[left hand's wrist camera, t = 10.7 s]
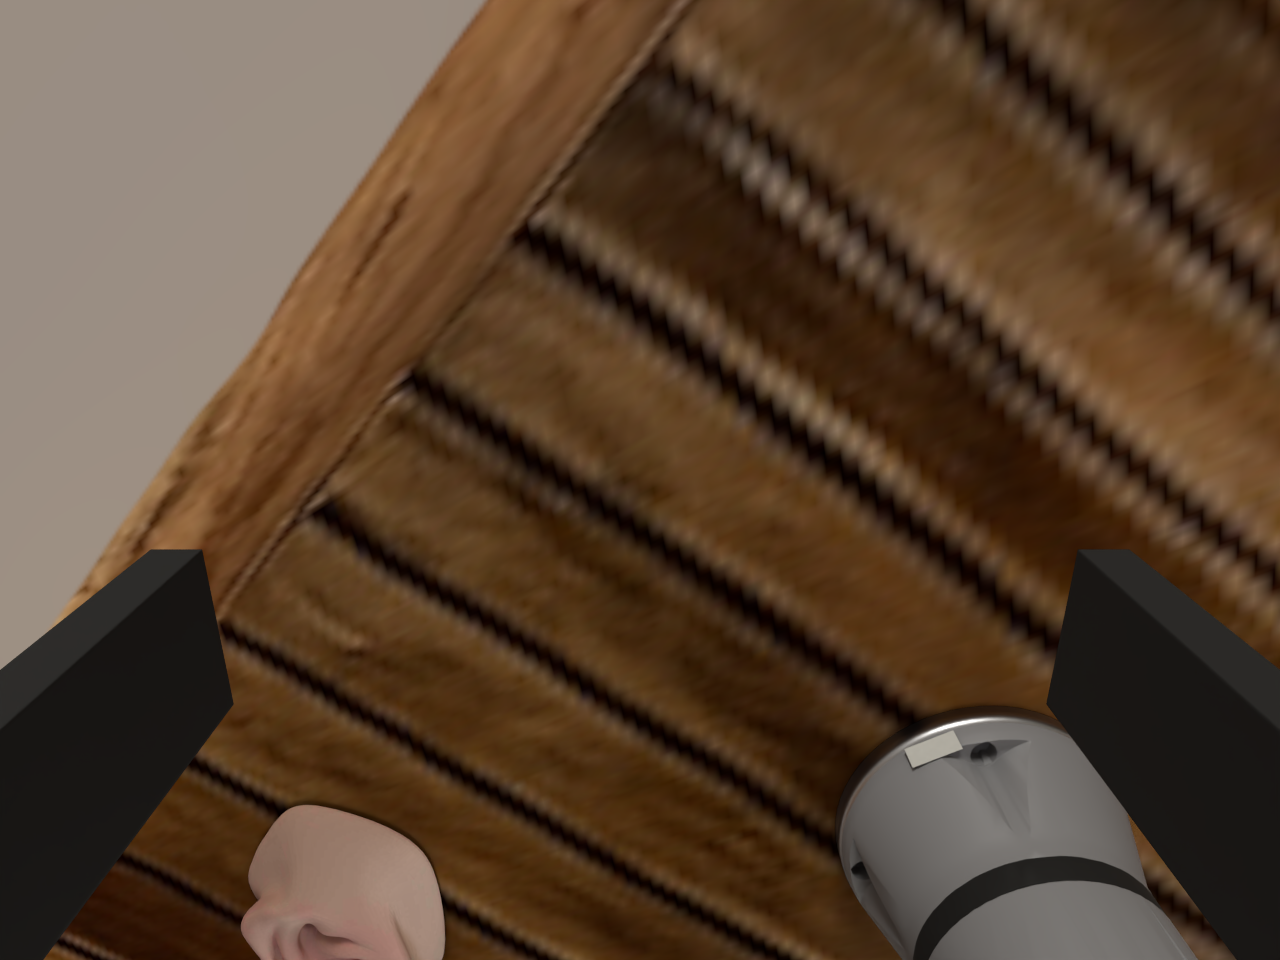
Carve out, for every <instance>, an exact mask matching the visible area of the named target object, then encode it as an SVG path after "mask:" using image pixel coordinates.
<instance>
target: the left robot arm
mask: <svg viewBox="0 0 1280 960" xmlns="http://www.w3.org/2000/svg"><path fill="white" fill-rule="evenodd" d="M232 706H233V699H232V694H231V689H230V684H229V679H228V674H227V669H226V664H225V660H224V655H223V650H222V645H221V640H220V635H219V630H218V625H217V621H216V616H215V611H214V606H213V601H212V596H211V591H210V586H209V581H208V577H207V572H206V567H205V562H204V557H203V552H202V550H150V551H148V552H147V553H146V554H145V555H143V556H142V557H141V558H140V559H138V560H137V561H136V562H135V563H133V564H132V565H131V566H130V567H128V568H127V569H126V570H125V571H123V572H122V573H121V574H120V575H118V576H117V577H116V578H115V579H113V580H112V581H111V582H110V583H108V584H107V585H106V586H105V587H103V588H102V589H101V590H100V591H98V592H97V593H96V594H95V595H93V596H92V597H91V598H90V599H88V600H87V601H86V602H85V603H83V604H82V605H81V606H80V607H78V608H77V609H76V610H75V611H73V612H72V613H71V614H70V615H68V616H67V617H66V618H65V619H63V620H62V621H61V622H60V623H58V624H57V625H56V626H55V627H53V628H52V629H51V630H50V631H48V632H47V633H46V634H45V635H43V636H42V637H41V638H40V639H38V640H37V641H36V642H35V643H33V644H32V645H31V646H30V647H28V648H27V649H26V650H25V651H23V652H22V653H21V654H20V655H18V656H17V657H16V658H15V659H13V660H12V661H11V662H10V663H8V664H7V665H6V666H5V667H3V668H2V669H1V670H0V960H43V959H44V958H45V957H46V955H47V954H48V953H49V951H50V950H51V949H52V947H53V946H54V945H55V943H56V942H57V940H58V939H59V938H60V936H61V935H62V934H63V932H64V931H65V930H66V928H67V927H68V926H69V924H70V923H71V922H72V920H73V919H74V918H75V916H76V915H77V914H78V912H79V911H80V910H81V908H82V907H83V906H84V904H85V903H86V902H87V900H88V899H89V898H90V896H91V895H92V893H93V892H94V891H95V889H96V888H97V887H98V885H99V884H100V883H101V881H102V880H103V879H104V877H105V876H106V875H107V873H108V872H109V871H110V869H111V868H112V867H113V865H114V864H115V863H116V861H117V860H118V859H119V857H120V856H121V855H122V853H123V852H124V851H125V849H126V848H127V847H128V845H129V844H130V842H131V841H132V840H133V838H134V837H135V836H136V834H137V833H138V832H139V830H140V829H141V828H142V826H143V825H144V824H145V822H146V821H147V820H148V818H149V817H150V816H151V814H152V813H153V812H154V810H155V809H156V808H157V806H158V805H159V804H160V802H161V801H162V800H163V798H164V797H165V796H166V794H167V793H168V791H169V790H170V789H171V787H172V786H173V785H174V783H175V782H176V781H177V779H178V778H179V777H180V775H181V774H182V773H183V771H184V770H185V769H186V767H187V766H188V765H189V763H190V762H191V761H192V759H193V758H194V757H195V755H196V754H197V753H198V751H199V750H200V749H201V747H202V746H203V744H204V743H205V742H206V740H207V739H208V738H209V736H210V735H211V734H212V732H213V731H214V730H215V728H216V727H217V726H218V724H219V723H220V722H221V720H222V719H223V718H224V716H225V715H226V714H227V712H228V711H229V710H230V708H231V707H232ZM1047 706H1048V707H1049V708H1050V710H1051V711H1052V712H1053V714H1054V715H1055V716H1056V718H1057V719H1058V720H1059V721H1057V720H1055V719H1053V718H1051V717H1049V716H1046V715H1043V714H1040V713H1037V712H1034V711H1030V710H1026V709H1021V708H1015V707H1007V706H976V707H967V708H961V709H956V710H951V711H947V712H943V713H940V714H936V715H933V716H931V717H928V718H925V719H923V720H920V721H918V722H916V723H914V724H911V725H910V726H908V727H906V728H904V729H902V730H900V731H899V732H897V733H896V734H894V735H893V736H891V737H890V738H888V739H887V740H885V741H884V742H883V743H882V744H880V745H879V746H878V747H877V748H875V749H874V750H873V751H872V752H871V753H870V754H869V755H868V756H867V757H866V758H865V759H864V760H863V762H862V763H861V764H860V765H859V766H858V768H857V769H856V770H855V772H854V773H853V775H852V776H851V778H850V779H849V781H848V783H847V785H846V786H845V789H844V791H843V793H842V795H841V798H840V801H839V805H838V808H837V813H836V821H835V836H836V843H837V848H838V852H839V855H840V859H841V862H842V866H843V869H844V872H845V875H846V878H847V880H848V882H849V884H850V886H851V888H852V890H853V892H854V894H855V896H856V897H857V899H858V901H859V902H860V904H861V905H862V907H863V908H864V909H865V911H866V912H867V913H868V915H869V916H870V917H871V919H872V920H873V921H874V923H875V924H876V925H877V927H878V928H879V929H880V931H881V932H882V933H883V934H884V936H885V937H886V938H887V940H888V941H889V942H890V944H891V945H892V946H893V948H894V949H895V950H896V952H897V953H898V954H899V956H900V957H901V958H902V960H1198V959H1197V958H1196V956H1195V955H1194V953H1193V952H1192V951H1191V949H1190V948H1189V946H1188V945H1187V943H1186V942H1185V941H1184V939H1183V938H1182V936H1181V935H1180V934H1179V932H1178V931H1177V929H1176V928H1175V926H1174V925H1173V924H1172V922H1171V921H1170V919H1169V918H1168V917H1167V916H1166V914H1165V913H1164V911H1163V910H1162V909H1161V907H1160V906H1159V904H1158V903H1157V901H1156V900H1155V898H1154V897H1153V895H1152V894H1151V892H1150V891H1149V889H1148V888H1147V884H1146V880H1145V877H1144V873H1143V869H1142V866H1141V862H1140V858H1139V855H1138V851H1137V847H1136V844H1135V840H1134V836H1133V833H1132V829H1131V825H1130V822H1129V818H1128V815H1127V813H1128V814H1129V816H1130V817H1131V818H1132V820H1133V821H1134V822H1135V824H1136V825H1137V826H1138V828H1139V829H1140V830H1141V832H1142V833H1143V834H1144V836H1145V837H1146V838H1147V840H1148V841H1149V842H1150V844H1151V845H1152V847H1153V848H1154V849H1155V851H1156V852H1157V853H1158V855H1159V856H1160V857H1161V859H1162V860H1163V861H1164V863H1165V864H1166V865H1167V867H1168V868H1169V869H1170V871H1171V872H1172V873H1173V875H1174V876H1175V877H1176V879H1177V880H1178V881H1179V883H1180V884H1181V885H1182V887H1183V888H1184V889H1185V891H1186V892H1187V893H1188V895H1189V896H1190V898H1191V899H1192V900H1193V902H1194V903H1195V904H1196V906H1197V907H1198V908H1199V910H1200V911H1201V912H1202V914H1203V915H1204V916H1205V918H1206V919H1207V920H1208V922H1209V923H1210V924H1211V926H1212V927H1213V928H1214V930H1215V931H1216V932H1217V934H1218V935H1219V936H1220V938H1221V939H1222V940H1223V942H1224V943H1225V945H1226V946H1227V947H1228V949H1229V950H1230V951H1231V953H1232V954H1233V955H1234V957H1235V958H1236V959H1237V960H1280V670H1279V669H1278V668H1277V667H1275V666H1274V665H1273V664H1272V663H1270V662H1269V661H1268V660H1267V659H1265V658H1264V657H1263V656H1262V655H1260V654H1259V653H1258V652H1257V651H1255V650H1254V649H1253V648H1252V647H1250V646H1249V645H1248V644H1247V643H1245V642H1244V641H1243V640H1242V639H1240V638H1239V637H1238V636H1237V635H1235V634H1234V633H1233V632H1232V631H1230V630H1229V629H1228V628H1227V627H1225V626H1224V625H1223V624H1222V623H1220V622H1219V621H1218V620H1217V619H1215V618H1214V617H1213V616H1212V615H1210V614H1209V613H1208V612H1207V611H1205V610H1204V609H1203V608H1202V607H1200V606H1199V605H1198V604H1197V603H1195V602H1194V601H1193V600H1192V599H1190V598H1189V597H1188V596H1187V595H1185V594H1184V593H1183V592H1182V591H1180V590H1179V589H1178V588H1177V587H1175V586H1174V585H1173V584H1172V583H1170V582H1169V581H1168V580H1167V579H1165V578H1164V577H1163V576H1162V575H1160V574H1159V573H1158V572H1157V571H1155V570H1154V569H1153V568H1152V567H1150V566H1149V565H1148V564H1147V563H1145V562H1144V561H1143V560H1142V559H1140V558H1139V557H1138V556H1137V555H1135V554H1134V553H1133V552H1132V551H1130V550H1078V552H1077V557H1076V562H1075V567H1074V572H1073V577H1072V581H1071V586H1070V591H1069V596H1068V601H1067V606H1066V611H1065V616H1064V621H1063V625H1062V630H1061V635H1060V640H1059V645H1058V650H1057V655H1056V660H1055V664H1054V669H1053V674H1052V679H1051V684H1050V689H1049V694H1048V699H1047Z"/></svg>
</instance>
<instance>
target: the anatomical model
mask: <svg viewBox="0 0 1280 960" xmlns="http://www.w3.org/2000/svg"><path fill="white" fill-rule="evenodd" d="M248 877H249V884H250V887H251V889H252V891H253V893H254V895H255V896H256V898H257V899H258V902H256V903H255V904H254V905H253V906H252V907H251V908H250V909H249V910H248V911H247V913H246V914H245V916H244V918H243V920H242V923H241V931H242V934H243V936H244V937H245V939H246V941H247V942H248V943H249V945H250V946H251V947H252V949H253V950H254V951H255V952H256V954H257V955H258V956H259V957H260V959H261V960H442V958H443V954H444V947H445V924H444V914H443V907H442V902H441V896H440V892H439V887H438V883H437V880H436V877H435V874H434V871H433V869H432V866H431V864H430V862H429V861H428V859H427V857H426V856H425V854H424V853H423V852H422V851H421V850H420V849H419V847H418V846H416V845H415V844H414V843H413V842H412V841H410V840H409V839H408V838H406V837H404V836H403V835H401V834H400V833H398V832H396V831H394V830H392V829H390V828H388V827H386V826H384V825H381V824H379V823H377V822H374V821H372V820H369V819H366V818H363V817H360V816H357V815H354V814H351V813H347V812H344V811H340V810H337V809H332V808H327V807H322V806H317V805H301V806H296V807H293V808H290V809H288V810H287V811H285V812H284V813H283V814H282V815H281V816H280V817H279V818H278V819H277V820H276V821H275V823H274V824H273V825H272V827H271V828H270V830H269V831H268V833H267V834H266V836H265V837H264V839H263V840H262V842H261V843H260V845H259V847H258V849H257V851H256V853H255V856H254V858H253V861H252V863H251V866H250V869H249V875H248Z"/></svg>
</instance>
